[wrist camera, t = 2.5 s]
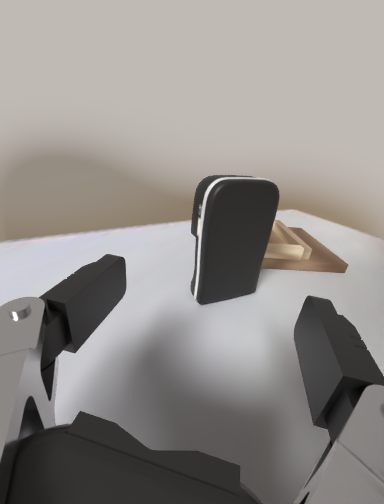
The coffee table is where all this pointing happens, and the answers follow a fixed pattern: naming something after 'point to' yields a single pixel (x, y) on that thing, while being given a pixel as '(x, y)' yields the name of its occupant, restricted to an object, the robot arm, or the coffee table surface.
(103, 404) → the coffee table surface
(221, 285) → the battery charger
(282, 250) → the board
